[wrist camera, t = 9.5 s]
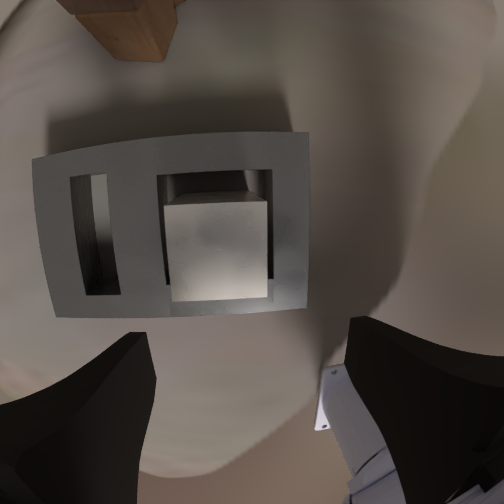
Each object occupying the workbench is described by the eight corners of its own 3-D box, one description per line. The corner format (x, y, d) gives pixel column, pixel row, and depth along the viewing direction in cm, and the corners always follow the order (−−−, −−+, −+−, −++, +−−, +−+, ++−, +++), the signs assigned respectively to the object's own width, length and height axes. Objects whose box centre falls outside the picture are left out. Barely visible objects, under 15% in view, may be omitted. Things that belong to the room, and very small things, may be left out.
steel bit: (248, 190, 18) (266, 201, 11) (249, 253, 19) (267, 297, 12) (183, 193, 18) (163, 205, 11) (187, 256, 19) (172, 301, 12)
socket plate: (294, 138, 18) (308, 132, 15) (294, 288, 20) (306, 307, 17) (55, 159, 16) (31, 159, 13) (73, 298, 19) (56, 317, 16)
